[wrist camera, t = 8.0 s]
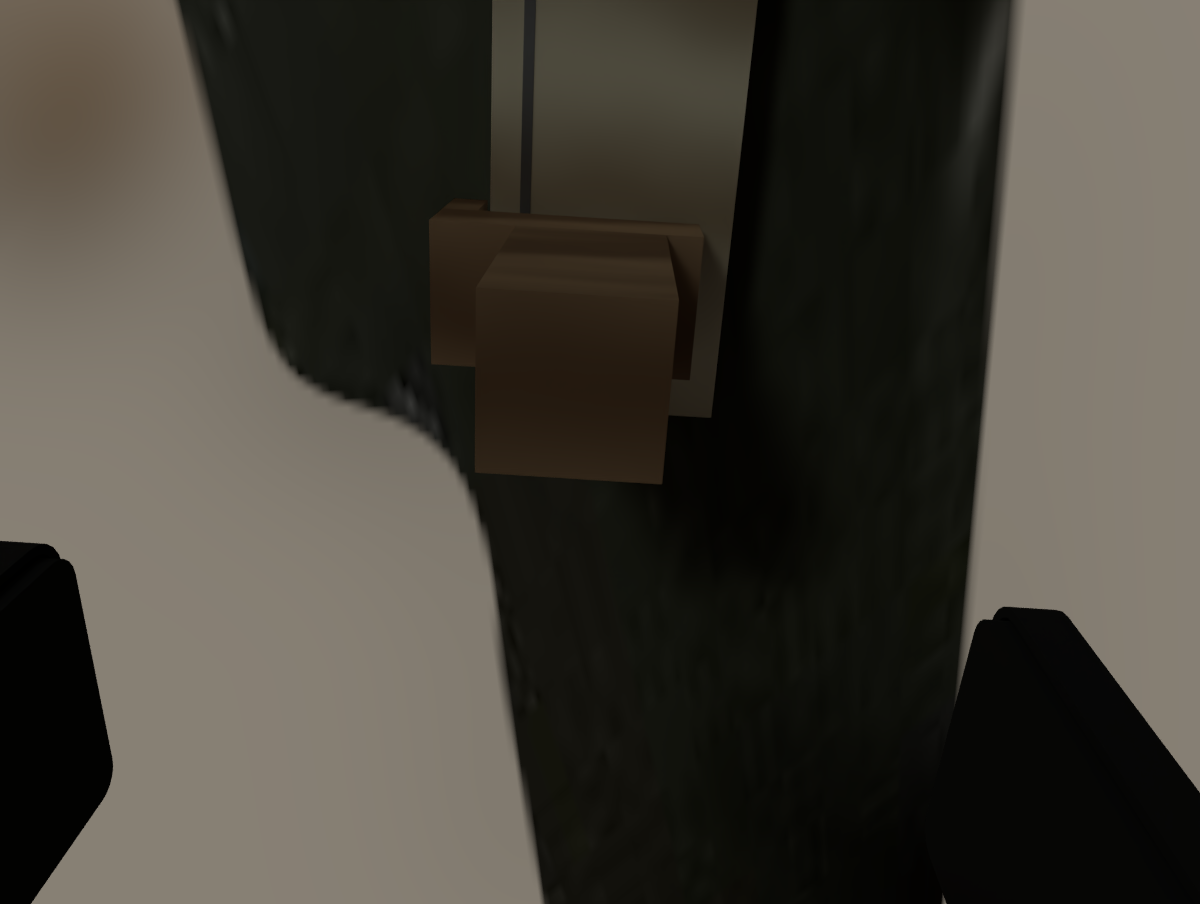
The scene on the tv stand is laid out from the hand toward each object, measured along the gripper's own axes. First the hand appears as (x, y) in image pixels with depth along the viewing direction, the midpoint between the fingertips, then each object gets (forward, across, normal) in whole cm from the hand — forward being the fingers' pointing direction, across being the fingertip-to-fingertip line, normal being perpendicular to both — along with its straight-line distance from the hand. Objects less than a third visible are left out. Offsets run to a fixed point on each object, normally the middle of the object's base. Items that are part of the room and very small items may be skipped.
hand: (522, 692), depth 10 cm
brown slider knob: (+22, 0, 0) cm, 22 cm away
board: (+22, 0, -2) cm, 22 cm away
